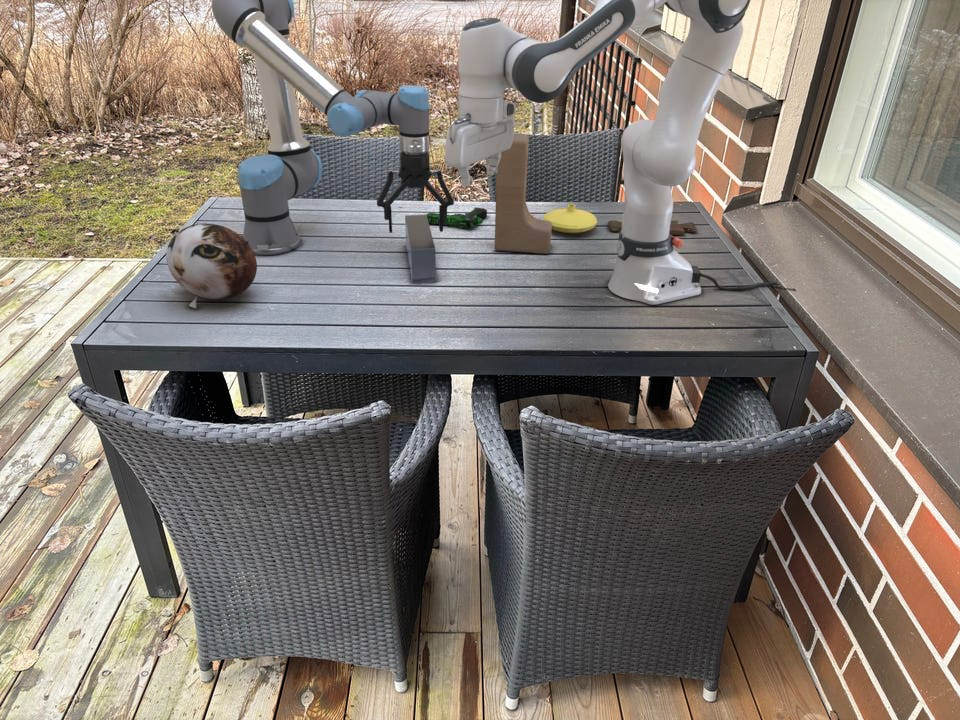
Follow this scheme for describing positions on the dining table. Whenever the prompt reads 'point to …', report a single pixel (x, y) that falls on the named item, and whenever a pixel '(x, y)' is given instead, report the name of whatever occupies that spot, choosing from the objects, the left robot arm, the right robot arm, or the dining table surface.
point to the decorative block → (517, 205)
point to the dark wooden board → (674, 229)
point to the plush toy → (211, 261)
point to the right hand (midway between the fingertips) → (479, 179)
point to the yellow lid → (571, 220)
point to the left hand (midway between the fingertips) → (415, 230)
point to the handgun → (461, 218)
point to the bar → (420, 249)
